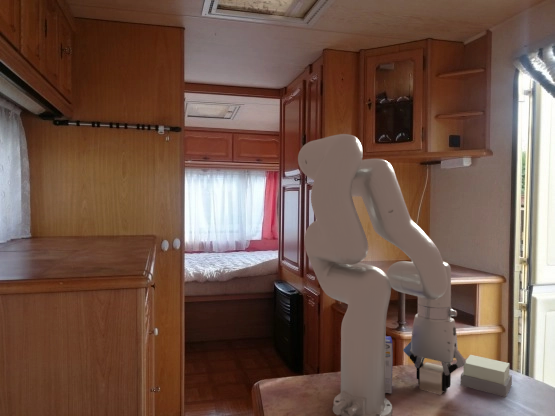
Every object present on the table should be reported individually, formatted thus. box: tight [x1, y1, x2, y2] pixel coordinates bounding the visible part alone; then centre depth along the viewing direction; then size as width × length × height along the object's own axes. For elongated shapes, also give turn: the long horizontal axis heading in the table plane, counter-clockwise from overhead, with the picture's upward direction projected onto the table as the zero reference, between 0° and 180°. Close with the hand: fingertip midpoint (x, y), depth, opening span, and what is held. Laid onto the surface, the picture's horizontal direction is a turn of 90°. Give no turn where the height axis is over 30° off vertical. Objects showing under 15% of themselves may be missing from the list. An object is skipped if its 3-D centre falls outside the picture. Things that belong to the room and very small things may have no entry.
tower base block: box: [460, 372, 513, 398], centre depth 102 cm, size 8×10×3 cm
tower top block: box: [462, 354, 511, 385], centre depth 102 cm, size 7×9×3 cm
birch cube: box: [418, 361, 444, 396], centre depth 101 cm, size 5×5×5 cm
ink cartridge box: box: [385, 335, 394, 394], centre depth 101 cm, size 10×6×14 cm, turn 78°
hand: (433, 385), depth 101 cm, fingers closed on birch cube, 5 cm apart
